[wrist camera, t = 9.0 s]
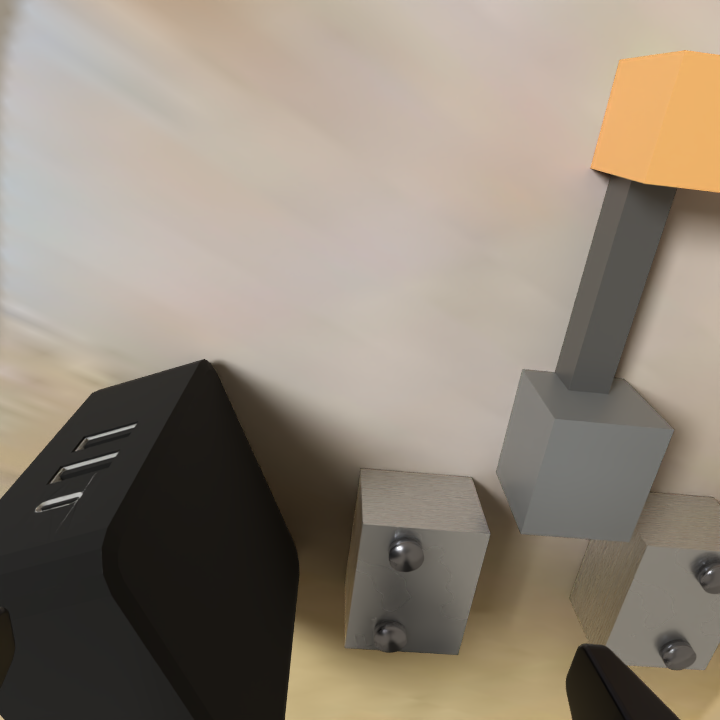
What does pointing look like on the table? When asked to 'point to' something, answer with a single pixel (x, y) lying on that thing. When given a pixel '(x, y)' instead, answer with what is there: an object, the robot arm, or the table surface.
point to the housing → (589, 594)
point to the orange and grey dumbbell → (613, 313)
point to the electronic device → (148, 564)
